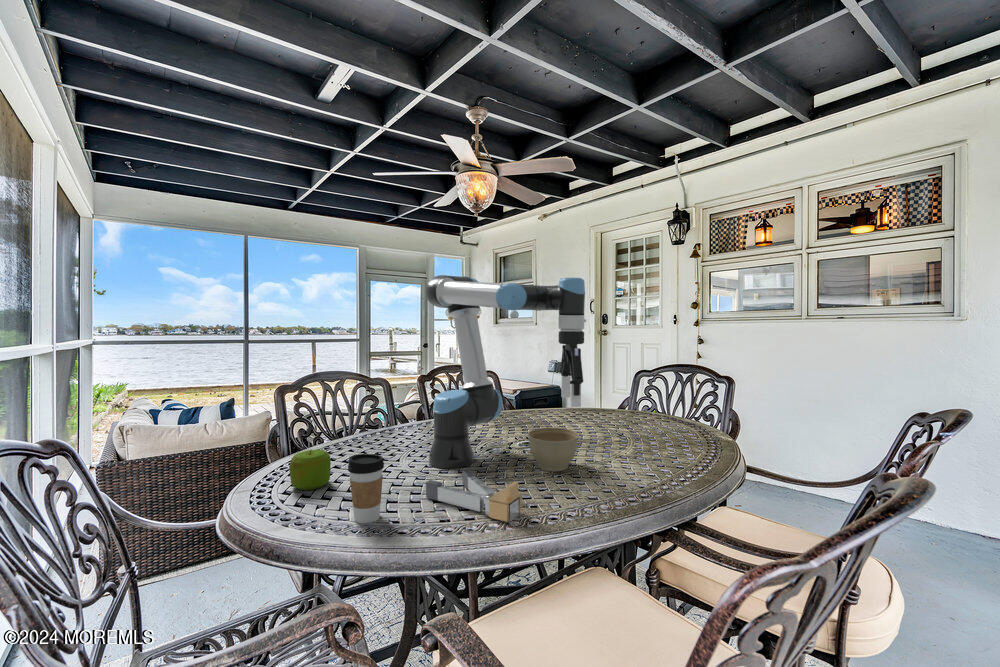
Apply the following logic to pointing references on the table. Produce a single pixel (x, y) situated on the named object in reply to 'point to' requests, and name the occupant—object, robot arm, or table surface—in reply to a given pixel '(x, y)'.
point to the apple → (310, 469)
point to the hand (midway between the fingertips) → (570, 401)
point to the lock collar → (504, 502)
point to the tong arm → (475, 484)
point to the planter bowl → (553, 447)
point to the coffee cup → (366, 486)
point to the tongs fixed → (465, 498)
